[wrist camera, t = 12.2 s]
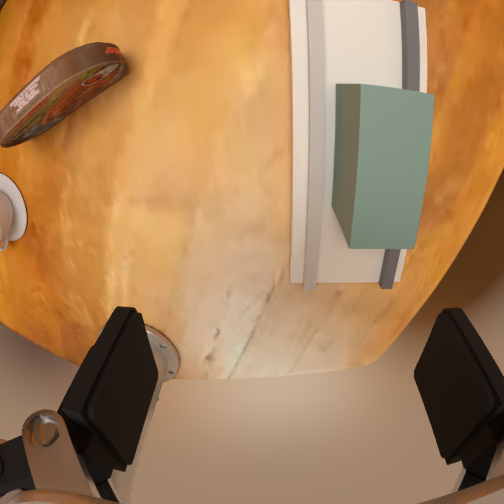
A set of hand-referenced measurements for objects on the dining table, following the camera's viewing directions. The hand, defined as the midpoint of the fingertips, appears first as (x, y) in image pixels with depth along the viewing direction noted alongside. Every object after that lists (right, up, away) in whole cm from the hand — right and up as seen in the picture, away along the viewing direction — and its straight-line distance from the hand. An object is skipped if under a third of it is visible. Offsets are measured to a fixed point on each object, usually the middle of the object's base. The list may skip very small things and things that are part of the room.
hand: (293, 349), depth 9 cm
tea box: (+8, +12, +16) cm, 22 cm away
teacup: (-34, +9, +24) cm, 43 cm away
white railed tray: (+8, +13, +18) cm, 23 cm away
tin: (-19, +19, +17) cm, 32 cm away
